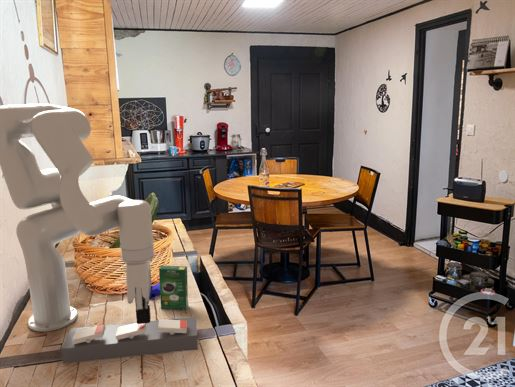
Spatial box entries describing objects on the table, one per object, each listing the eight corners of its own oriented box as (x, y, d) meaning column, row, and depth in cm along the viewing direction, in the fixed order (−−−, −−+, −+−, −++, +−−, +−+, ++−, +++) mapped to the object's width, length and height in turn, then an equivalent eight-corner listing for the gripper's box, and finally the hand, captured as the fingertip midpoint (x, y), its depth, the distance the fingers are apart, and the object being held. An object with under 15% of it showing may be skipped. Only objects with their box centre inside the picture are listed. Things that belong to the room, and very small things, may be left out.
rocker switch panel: (72, 342, 112) (70, 327, 111) (196, 330, 117) (196, 315, 116) (63, 363, 103) (60, 347, 102) (197, 349, 108) (197, 334, 107)
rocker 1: (77, 337, 107) (75, 330, 107) (106, 330, 108) (104, 323, 107) (74, 346, 103) (71, 339, 103) (103, 339, 104) (101, 332, 104)
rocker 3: (158, 325, 110) (159, 318, 110) (185, 326, 111) (186, 320, 111) (157, 333, 106) (158, 326, 106) (185, 335, 107) (186, 328, 107)
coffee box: (189, 305, 130) (187, 265, 127) (187, 310, 127) (185, 269, 124) (163, 304, 130) (160, 264, 127) (160, 309, 128) (157, 268, 124)
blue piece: (149, 300, 134) (148, 282, 132) (140, 296, 136) (139, 278, 135) (178, 286, 143) (177, 269, 141) (169, 282, 146) (168, 266, 144)
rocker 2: (119, 333, 109) (117, 326, 108) (147, 326, 110) (145, 319, 109) (117, 342, 105) (115, 335, 104) (146, 335, 106) (144, 328, 105)
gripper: (125, 242, 109) (131, 308, 113) (116, 265, 95) (124, 340, 99) (155, 240, 110) (160, 305, 115) (151, 263, 96) (157, 336, 100)
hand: (143, 321), depth 107 cm, fingers closed
